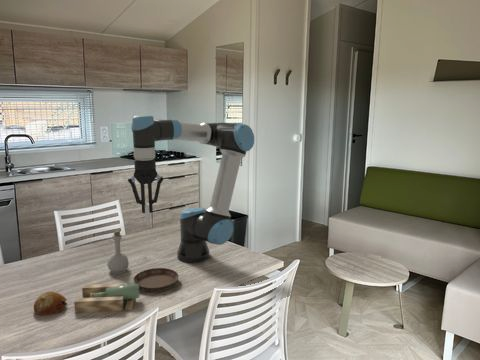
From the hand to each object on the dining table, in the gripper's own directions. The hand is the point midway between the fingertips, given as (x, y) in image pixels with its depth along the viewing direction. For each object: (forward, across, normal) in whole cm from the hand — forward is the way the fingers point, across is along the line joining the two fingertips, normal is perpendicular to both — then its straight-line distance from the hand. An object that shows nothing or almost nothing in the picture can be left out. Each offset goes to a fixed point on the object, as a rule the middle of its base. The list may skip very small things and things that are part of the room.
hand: (147, 221), depth 153 cm
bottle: (+24, +4, +9) cm, 25 cm away
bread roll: (+28, +34, +10) cm, 45 cm away
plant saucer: (+28, -2, -5) cm, 29 cm away
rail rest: (+28, +15, +8) cm, 32 cm away
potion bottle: (+28, +14, -20) cm, 37 cm away
